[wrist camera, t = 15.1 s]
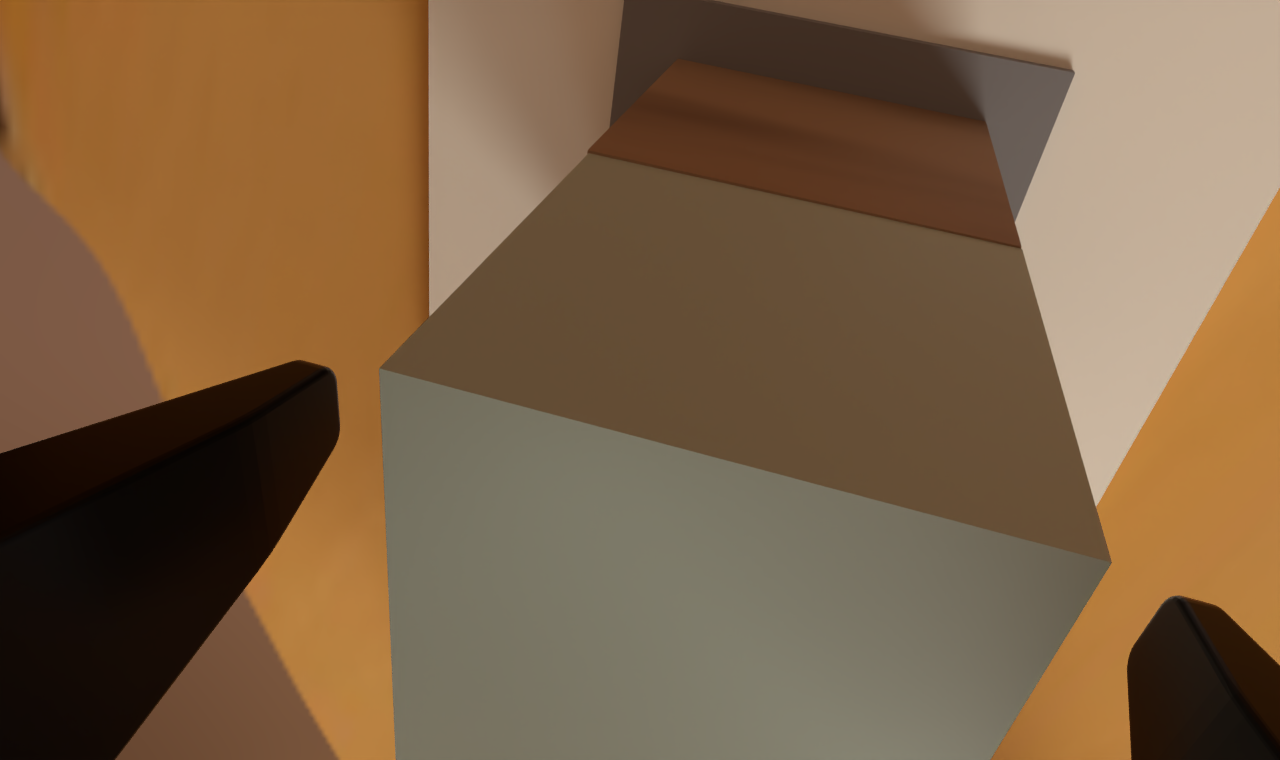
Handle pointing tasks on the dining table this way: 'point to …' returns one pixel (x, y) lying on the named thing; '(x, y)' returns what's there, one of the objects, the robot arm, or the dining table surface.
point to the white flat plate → (933, 80)
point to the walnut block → (818, 148)
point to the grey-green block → (728, 487)
